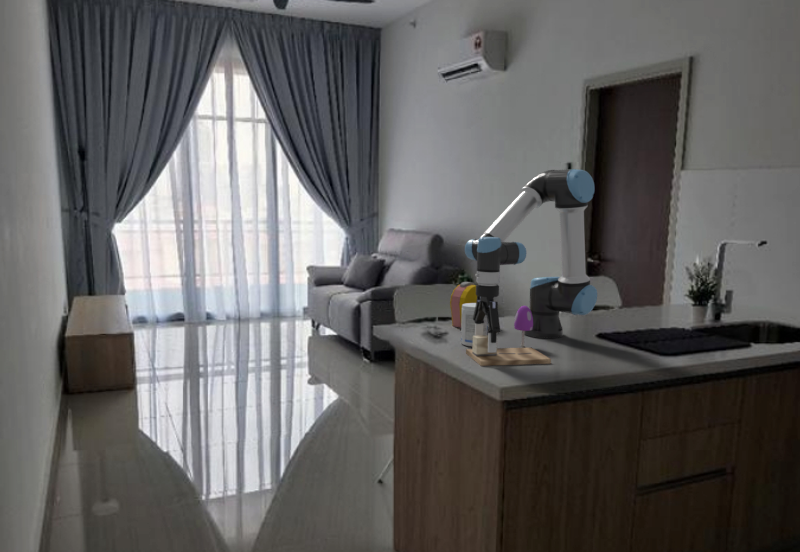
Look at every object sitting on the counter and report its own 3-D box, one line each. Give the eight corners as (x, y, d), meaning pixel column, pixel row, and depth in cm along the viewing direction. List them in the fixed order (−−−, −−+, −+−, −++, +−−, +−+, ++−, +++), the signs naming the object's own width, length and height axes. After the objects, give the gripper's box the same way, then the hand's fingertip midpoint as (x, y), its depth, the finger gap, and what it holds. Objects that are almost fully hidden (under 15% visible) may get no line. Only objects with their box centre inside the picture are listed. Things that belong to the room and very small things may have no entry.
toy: (533, 345, 232) (535, 305, 230) (530, 349, 226) (532, 307, 224) (514, 343, 234) (516, 303, 232) (511, 347, 228) (513, 306, 226)
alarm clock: (471, 321, 273) (473, 279, 271) (486, 325, 267) (488, 282, 265) (448, 326, 263) (449, 282, 261) (463, 329, 257) (464, 284, 255)
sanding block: (492, 352, 213) (492, 335, 213) (496, 355, 209) (497, 337, 208) (472, 353, 212) (472, 335, 211) (476, 356, 208) (476, 338, 207)
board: (531, 351, 222) (531, 347, 222) (550, 363, 207) (551, 358, 207) (466, 353, 218) (466, 348, 217) (480, 365, 202) (481, 360, 202)
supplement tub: (492, 345, 230) (493, 305, 228) (472, 348, 225) (473, 307, 223) (475, 340, 238) (476, 301, 236) (455, 343, 233) (456, 303, 231)
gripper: (465, 279, 219) (463, 339, 221) (489, 289, 195) (486, 357, 197) (486, 279, 220) (483, 338, 223) (512, 289, 196) (509, 356, 199)
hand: (485, 347), depth 210 cm, fingers open, 13 cm apart
